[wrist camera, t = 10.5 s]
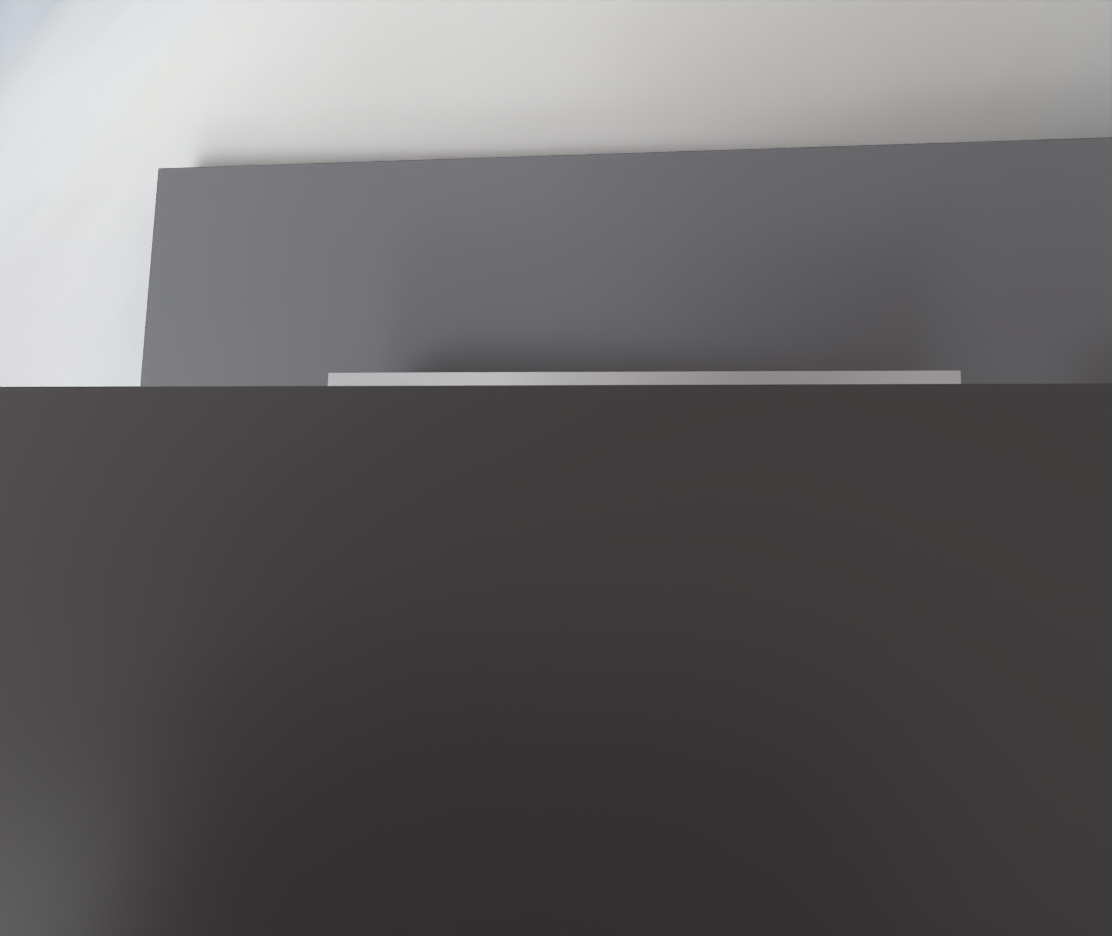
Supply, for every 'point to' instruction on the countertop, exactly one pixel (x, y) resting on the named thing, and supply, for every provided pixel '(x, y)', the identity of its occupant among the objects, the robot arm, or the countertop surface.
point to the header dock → (640, 269)
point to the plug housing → (556, 660)
